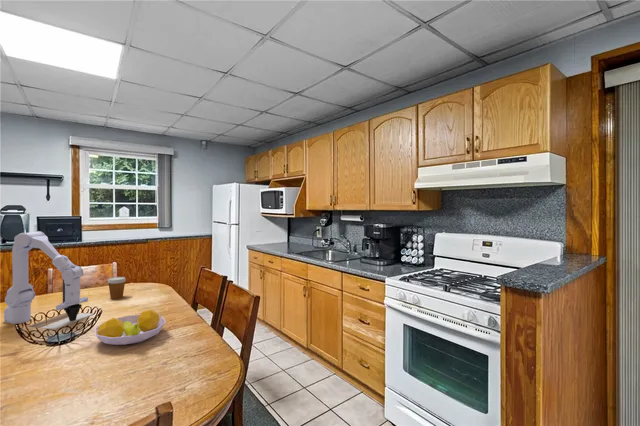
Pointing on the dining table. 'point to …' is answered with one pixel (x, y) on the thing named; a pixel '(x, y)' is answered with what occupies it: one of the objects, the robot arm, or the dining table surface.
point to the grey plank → (66, 321)
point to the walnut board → (49, 321)
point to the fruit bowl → (130, 328)
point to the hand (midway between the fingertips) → (72, 320)
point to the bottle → (63, 291)
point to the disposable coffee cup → (116, 287)
